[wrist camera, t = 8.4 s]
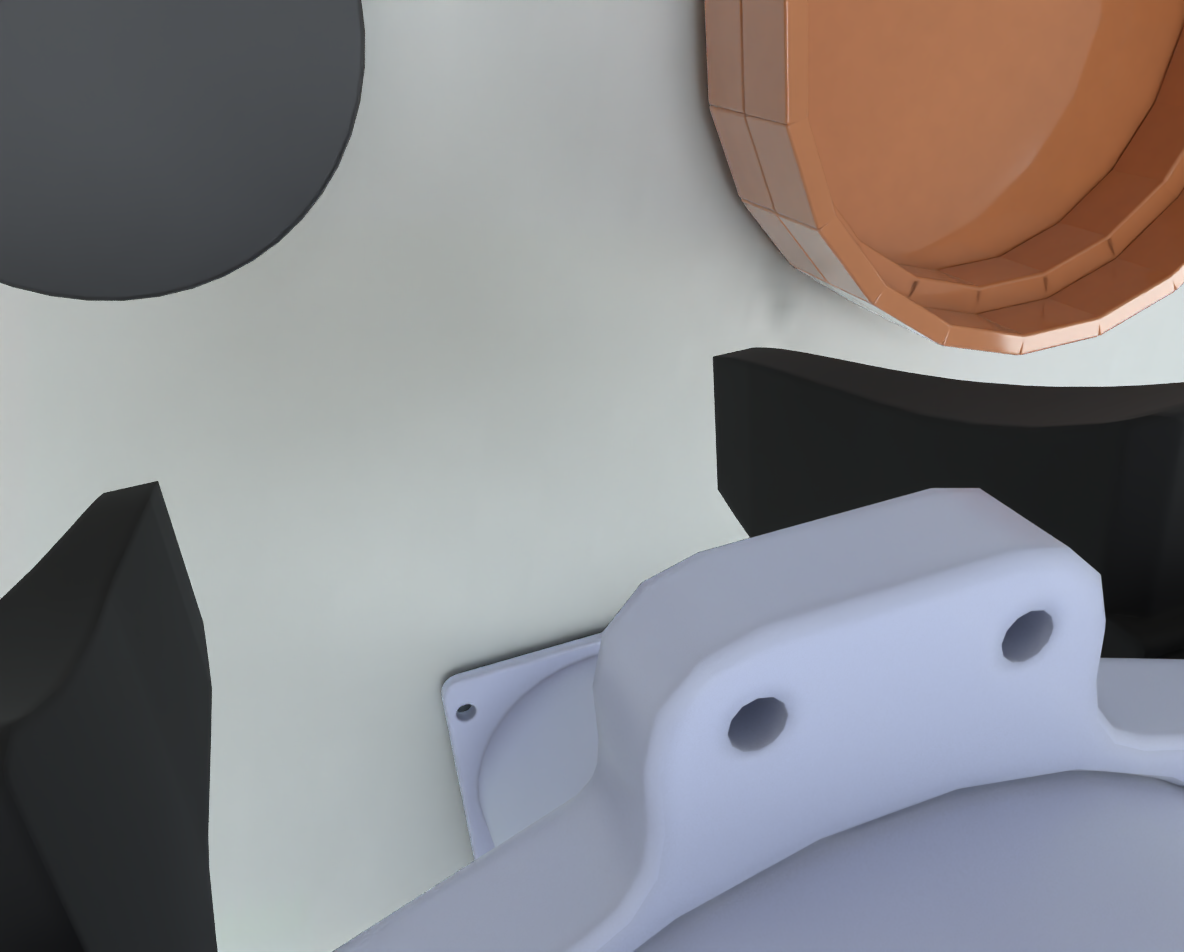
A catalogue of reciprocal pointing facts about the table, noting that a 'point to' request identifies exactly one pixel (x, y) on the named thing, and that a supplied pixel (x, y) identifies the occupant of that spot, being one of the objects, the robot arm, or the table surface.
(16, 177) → the cap
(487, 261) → the table surface
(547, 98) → the table surface
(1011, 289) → the round terracotta dish
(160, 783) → the robot arm
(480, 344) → the table surface
